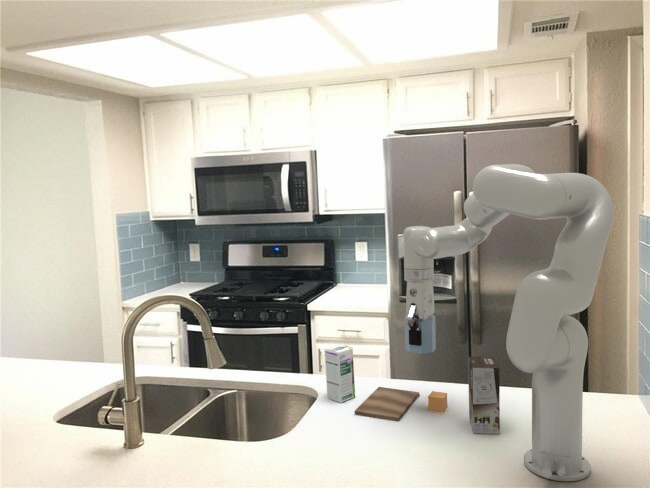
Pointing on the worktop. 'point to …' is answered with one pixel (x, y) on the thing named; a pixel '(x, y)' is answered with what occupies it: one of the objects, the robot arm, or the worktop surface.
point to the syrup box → (340, 373)
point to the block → (437, 402)
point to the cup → (427, 336)
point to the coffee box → (484, 394)
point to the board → (387, 403)
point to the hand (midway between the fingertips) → (420, 340)
